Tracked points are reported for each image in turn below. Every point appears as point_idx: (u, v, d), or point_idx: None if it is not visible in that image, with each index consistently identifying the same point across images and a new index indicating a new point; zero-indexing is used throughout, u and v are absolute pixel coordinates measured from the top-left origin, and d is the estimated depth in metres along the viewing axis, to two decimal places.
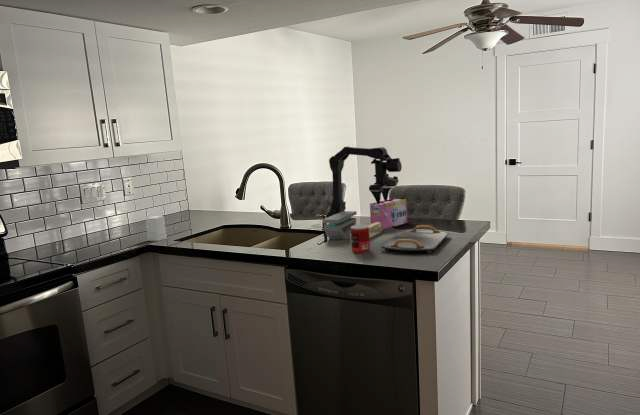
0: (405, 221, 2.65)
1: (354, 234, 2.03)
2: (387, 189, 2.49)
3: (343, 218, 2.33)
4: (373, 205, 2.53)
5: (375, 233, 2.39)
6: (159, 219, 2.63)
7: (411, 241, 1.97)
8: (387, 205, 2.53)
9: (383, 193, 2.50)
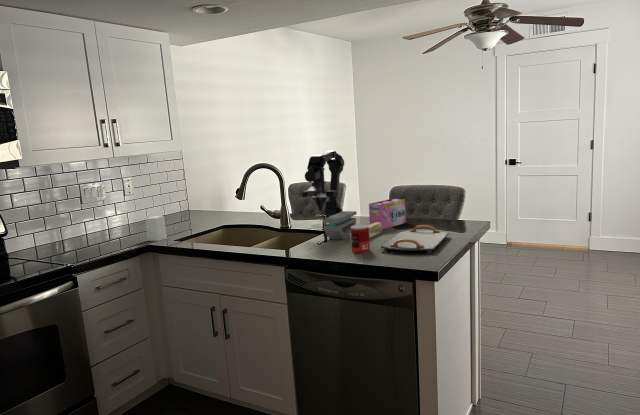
0: (404, 221, 2.65)
1: (354, 234, 2.03)
2: None
3: (343, 218, 2.33)
4: (372, 205, 2.53)
5: (375, 233, 2.39)
6: (159, 219, 2.63)
7: (411, 241, 1.97)
8: (386, 205, 2.53)
9: None
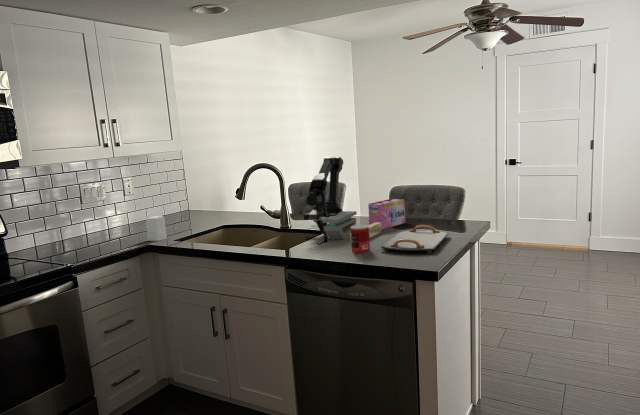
0: (403, 221, 2.65)
1: (354, 234, 2.03)
2: None
3: (343, 218, 2.33)
4: (372, 205, 2.53)
5: (375, 233, 2.39)
6: (159, 219, 2.63)
7: (411, 241, 1.97)
8: (386, 205, 2.53)
9: None
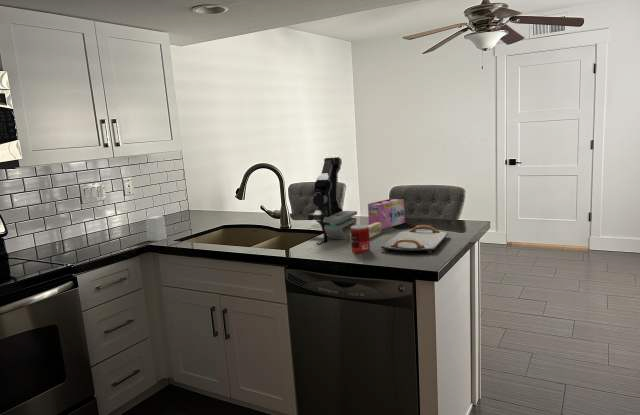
0: (403, 221, 2.65)
1: (354, 234, 2.03)
2: None
3: (344, 218, 2.33)
4: (371, 205, 2.53)
5: (375, 233, 2.39)
6: (159, 219, 2.63)
7: (411, 241, 1.97)
8: (385, 205, 2.53)
9: None
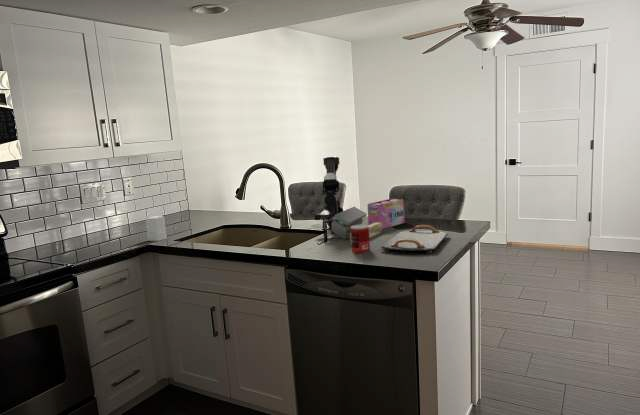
0: (402, 221, 2.65)
1: (354, 234, 2.03)
2: None
3: (353, 221, 2.31)
4: (371, 205, 2.53)
5: (375, 233, 2.39)
6: (159, 219, 2.63)
7: (411, 241, 1.97)
8: (385, 205, 2.53)
9: None
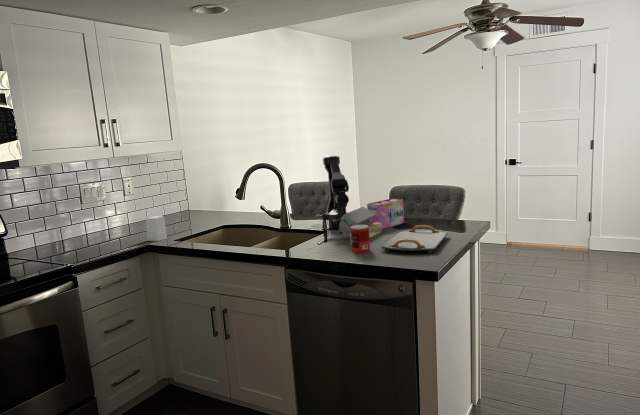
0: (402, 221, 2.65)
1: (354, 234, 2.03)
2: None
3: (362, 221, 2.29)
4: (370, 205, 2.53)
5: (375, 233, 2.39)
6: (159, 219, 2.63)
7: (412, 241, 1.97)
8: (384, 205, 2.53)
9: None
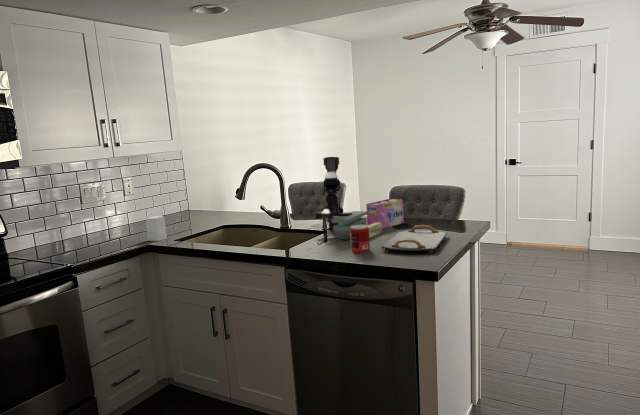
0: (401, 221, 2.65)
1: (354, 234, 2.03)
2: None
3: (352, 218, 2.30)
4: (370, 205, 2.53)
5: (375, 233, 2.39)
6: (159, 219, 2.63)
7: (412, 241, 1.97)
8: (384, 206, 2.53)
9: None
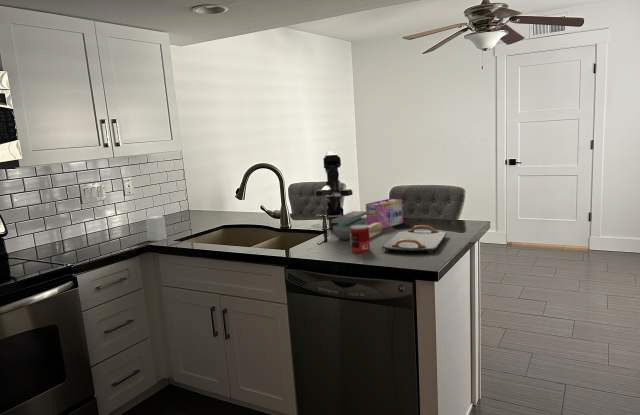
0: (401, 221, 2.65)
1: (354, 234, 2.03)
2: None
3: (352, 218, 2.30)
4: (369, 205, 2.53)
5: (375, 233, 2.39)
6: (159, 219, 2.63)
7: (412, 241, 1.97)
8: (383, 206, 2.53)
9: None
